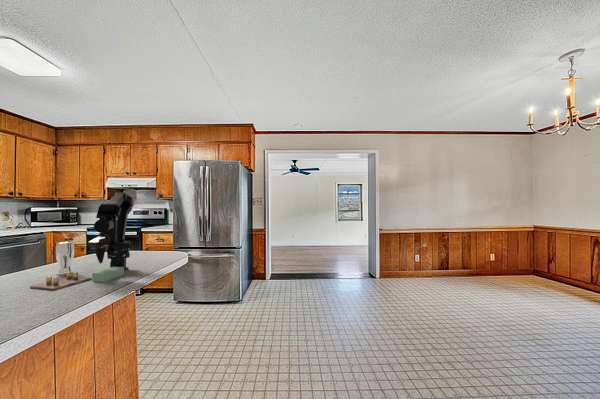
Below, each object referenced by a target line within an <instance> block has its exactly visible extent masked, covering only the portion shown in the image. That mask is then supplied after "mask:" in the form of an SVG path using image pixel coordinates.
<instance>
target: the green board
mask: <svg viewBox="0 0 600 399" xmlns="http://www.w3.org/2000/svg"><path fill="white" fill-rule="evenodd" d="M123 275H125V270H124V267H111V268H110V267H108V268H105V269H104V268H103V269H102V270H98V271H95V272H92V273H91V278H92V279H91V282H95V283H96V282H97V283H105V282H107V281H111V280H113V279H116V278H119V277H122V276H123Z"/></svg>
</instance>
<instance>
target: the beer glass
mask: <svg viewBox="0 0 600 399" xmlns="http://www.w3.org/2000/svg"><path fill="white" fill-rule="evenodd" d="M74 257H75V241H72V240H71V241H60V242H59V241H58V242H56V244H55V258H56V263H57V270H56V275H57V276H60V275H61V276H64V275H66V272H72V274H73V273H74V268H73V261H74Z"/></svg>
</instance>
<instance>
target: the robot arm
mask: <svg viewBox="0 0 600 399" xmlns="http://www.w3.org/2000/svg"><path fill="white" fill-rule="evenodd" d="M134 200H135V199H134V198H133V197H132V196H130V195H128V193H127V192H115V193H114V195H113V196H112V197H111V198H110V199H109V200H108V201H103V202H102V203H100V205H99V206H98V208H97V213H96V216H95V219H98V220H96V221H95V222H94V224H93V228H94V230H95V231H96V232H98V236H97V237H94V238H92V239H90V240H89V241H88V243H87V244H86V245H87V249H89V250H90V251H92V252H94V254H95V256H96V258H97V261H98V264H102V263H103V262H104V257H105V253H106V255H107V256H106V257H107V259H108V260H109V259H110V262H109V264H110V265H109V268H111V267H124V271H125V270H127V269H129V267H127V258H130V256H131V254H130V249H131V242H129V241H126V240H125V237H126V231H127V230H126V229H127V223H128V217H129V216H128V215H129V214H130V213H131V212H132V211H133V207H134V205H135V201H134Z"/></svg>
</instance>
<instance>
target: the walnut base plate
mask: <svg viewBox="0 0 600 399" xmlns="http://www.w3.org/2000/svg"><path fill="white" fill-rule="evenodd" d="M65 275H66V276H65V277H59V276H54V277H53V276H51V275H50V276H46V278H45V281H44V282H40V283H37V284H33V285H29V286H30V287H29V288H30V289H34V290H42V291H43V290H44V291H52V292H53V291H56V290H60V289H64V288H67V287H70V286H73V285H77V284H81V283H84V282H88V281H92V277H88V276H79V272H78V271H75V272H74V271H73V273H72V272H66V274H65Z"/></svg>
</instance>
